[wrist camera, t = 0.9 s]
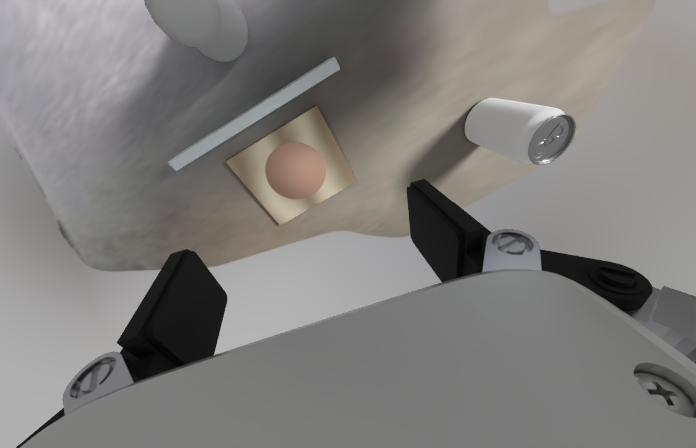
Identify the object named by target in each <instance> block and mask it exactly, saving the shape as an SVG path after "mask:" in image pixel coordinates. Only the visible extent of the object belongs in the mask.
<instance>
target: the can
mask: <svg viewBox="0 0 696 448" xmlns="http://www.w3.org/2000/svg"><path fill="white" fill-rule="evenodd" d="M575 130H576V124H575V120H574V118H573V117H572V116H570V115H568V114H565V113H564V112H563V111H561V110H560V109H557V108H553V107H548V106H542V105H535V104H529V103H523V102H516V101H510V100H503V99H496V98H488V99H485V100H482V101H481V102H479V103H478V104H476V105H475V106H474V107H473V109H472V110H471V111H470V113H469V114H468V116H467V119H466V122H465V135H466V137H467V139H468V140H469V141H471V142H473V143H475V144H477V145H480V146H482V147H484V148H487V149H489V150H492V151H494V152H496V153H499V154H501V155H504V156H506V157H509V158H511V159H513V160H516V161H518V162H521V163H525V164H536V165H544V164H548V163H550V162H552V161H554V160H555V159H557V158H558V157H559V156H560V155H562V154H563V153H564V151H565V150H566V149H567V148H568V146H569V145H570V143H571V141H572V139H573V137H574V134H575Z"/></svg>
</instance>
